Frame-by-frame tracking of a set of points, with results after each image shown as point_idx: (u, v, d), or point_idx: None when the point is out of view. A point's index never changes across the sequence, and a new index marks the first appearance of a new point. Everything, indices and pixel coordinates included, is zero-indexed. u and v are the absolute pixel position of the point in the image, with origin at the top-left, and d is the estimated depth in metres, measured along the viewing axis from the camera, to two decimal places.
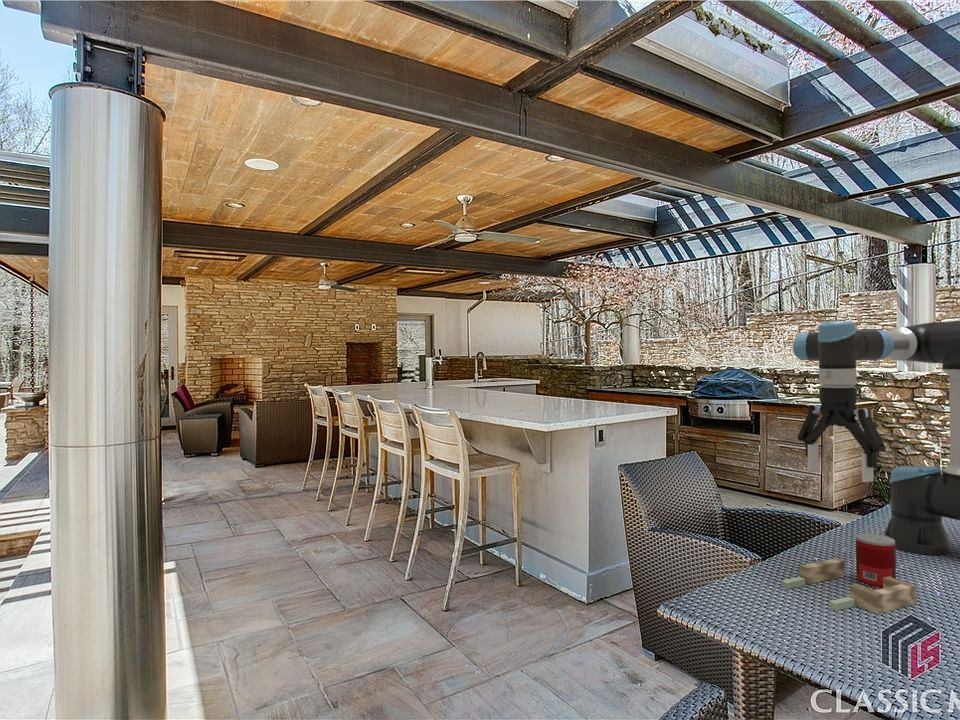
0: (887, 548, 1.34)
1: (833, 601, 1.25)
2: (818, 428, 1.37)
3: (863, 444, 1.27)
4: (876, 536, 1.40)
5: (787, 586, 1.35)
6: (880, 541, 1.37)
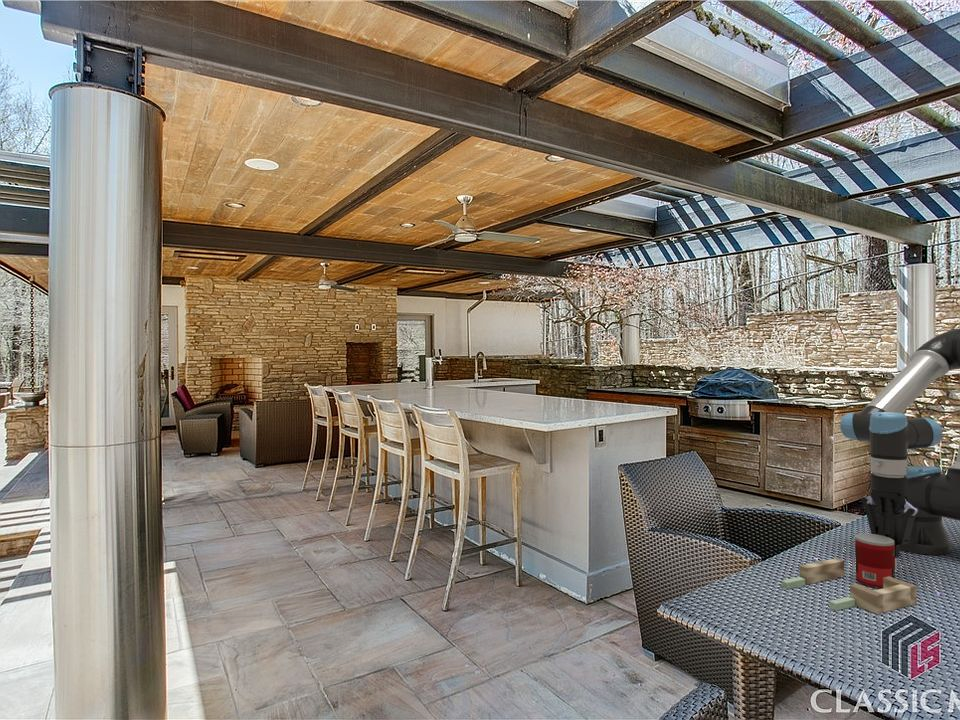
0: (886, 549, 1.34)
1: (833, 601, 1.25)
2: (882, 519, 1.40)
3: (892, 536, 1.38)
4: (875, 536, 1.40)
5: (787, 586, 1.35)
6: (879, 541, 1.37)
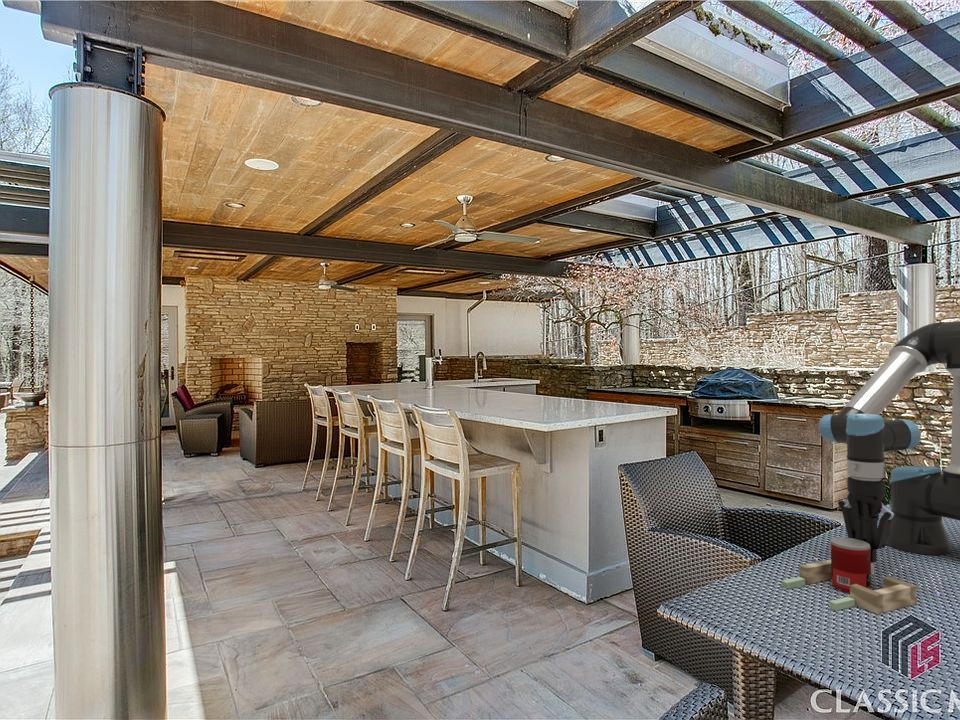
0: (860, 553, 1.31)
1: (833, 601, 1.25)
2: (858, 523, 1.38)
3: (869, 540, 1.35)
4: (852, 540, 1.37)
5: (787, 586, 1.35)
6: (854, 545, 1.34)
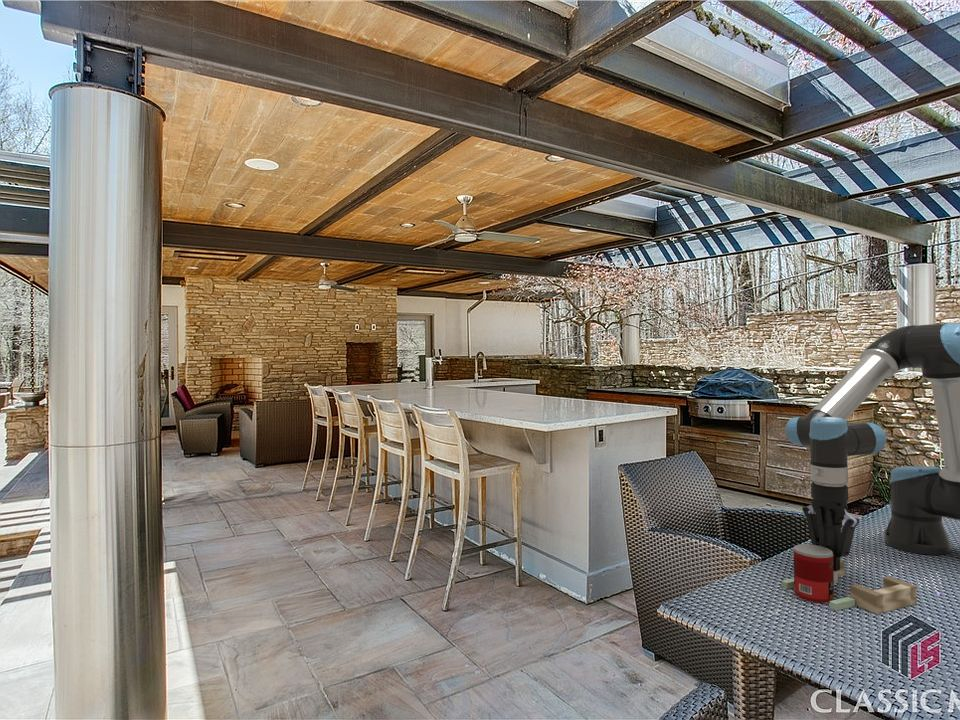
0: (822, 561, 1.27)
1: (833, 601, 1.25)
2: (822, 530, 1.33)
3: (832, 548, 1.31)
4: (816, 547, 1.33)
5: (787, 586, 1.35)
6: (817, 553, 1.30)
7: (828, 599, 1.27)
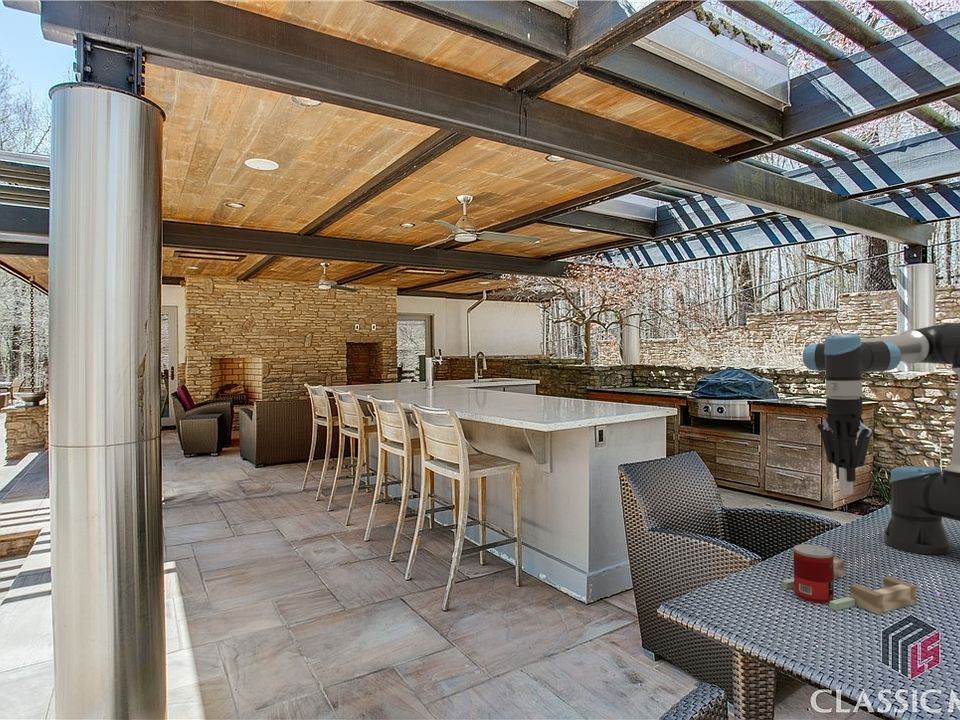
0: (822, 561, 1.27)
1: (833, 601, 1.25)
2: (837, 444, 1.38)
3: (847, 459, 1.35)
4: (816, 547, 1.33)
5: (787, 586, 1.35)
6: (817, 553, 1.30)
7: (828, 599, 1.27)
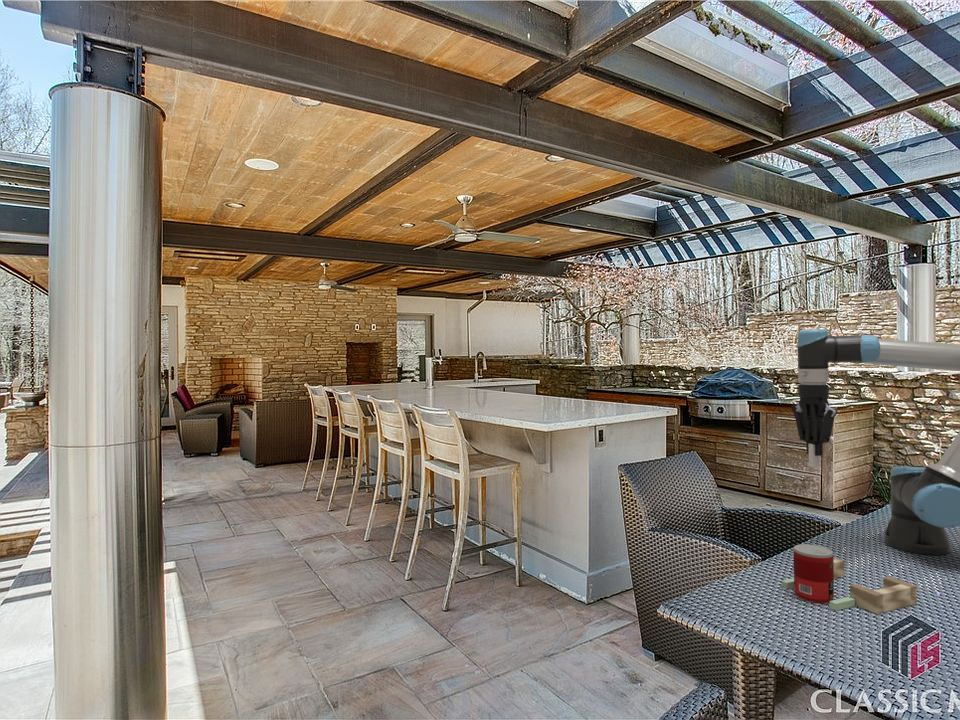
0: (822, 561, 1.27)
1: (833, 601, 1.25)
2: (807, 423, 1.60)
3: (815, 436, 1.58)
4: (816, 547, 1.33)
5: (787, 586, 1.35)
6: (817, 553, 1.30)
7: (828, 599, 1.27)
